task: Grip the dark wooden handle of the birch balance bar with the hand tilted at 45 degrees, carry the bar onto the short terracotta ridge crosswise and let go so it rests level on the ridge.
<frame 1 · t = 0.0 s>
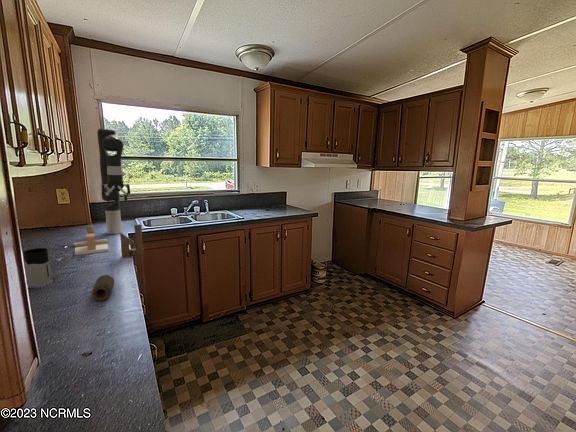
hand: (117, 201, 163), 29 cm above the countertop, tool pointing down, fingers open, 8 cm apart
olive brown hollow cylinder: (104, 294, 112), on the countertop
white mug: (48, 283, 119), on the countertop
balance bar: (91, 243, 177), on the countertop
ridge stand: (92, 250, 163), on the countertop
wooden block: (133, 256, 158), on the countertop
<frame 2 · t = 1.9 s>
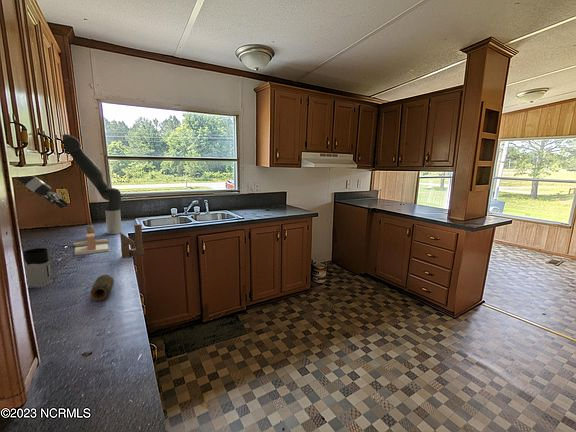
hand: (65, 206, 168), 25 cm above the countertop, tool tilted 45°, fingers open, 8 cm apart
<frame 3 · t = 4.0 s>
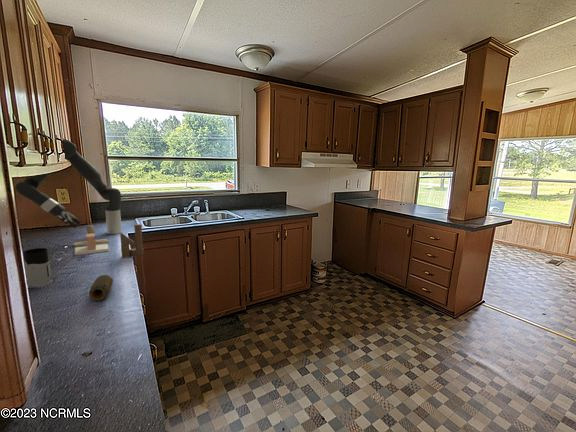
hand: (78, 225, 172), 12 cm above the countertop, tool tilted 45°, fingers open, 8 cm apart
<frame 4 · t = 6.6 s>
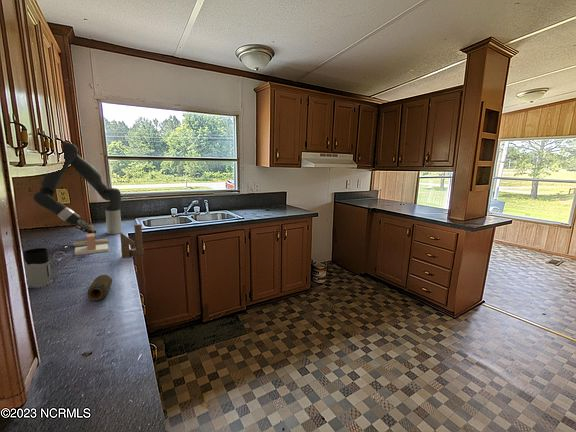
hand: (94, 233, 177), 6 cm above the countertop, tool tilted 45°, fingers closed on balance bar, 3 cm apart
balance bar: (91, 243, 177), on the countertop, touching gripper
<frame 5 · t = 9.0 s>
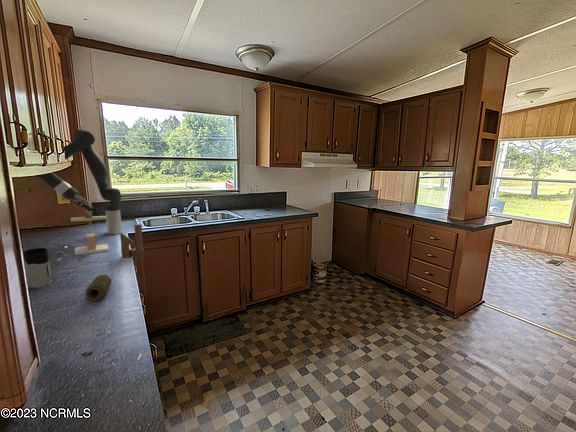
hand: (92, 209, 173), 22 cm above the countertop, tool tilted 45°, fingers closed on balance bar, 3 cm apart
balance bar: (89, 219, 173), point 16 cm above the countertop, touching gripper
when the fingers open (17 cm above the countertop, at t = 11.7 s): balance bar drops 1 cm, resting on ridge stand.
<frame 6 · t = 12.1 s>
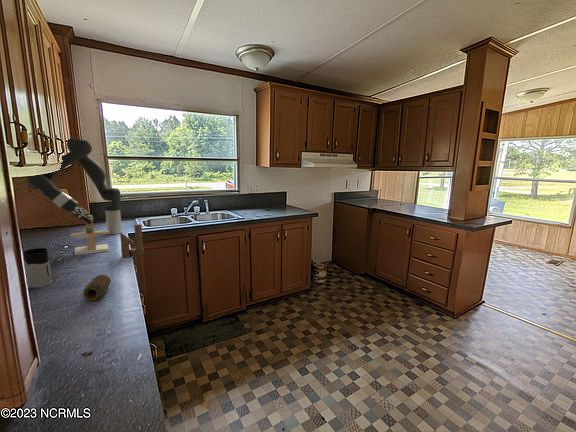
hand: (92, 221, 161), 18 cm above the countertop, tool tilted 45°, fingers open, 7 cm apart
balance bar: (90, 235, 162), point 9 cm above the countertop, touching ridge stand
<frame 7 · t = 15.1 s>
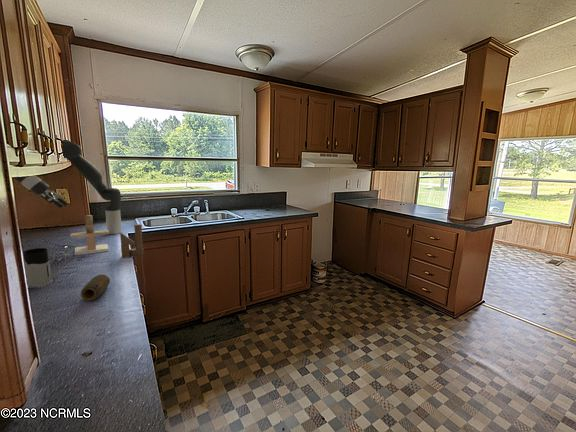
hand: (64, 205, 154), 27 cm above the countertop, tool tilted 45°, fingers open, 8 cm apart
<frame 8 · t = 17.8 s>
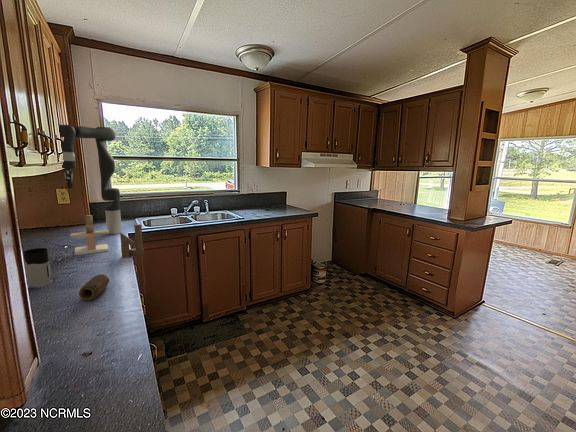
hand: (70, 187, 164), 36 cm above the countertop, tool pointing down, fingers open, 8 cm apart
at the end: balance bar 0.2 cm off-centre on the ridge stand, point 9.5 cm above the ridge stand's base; balance bar tilted 0°; the gripper is holding nothing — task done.
